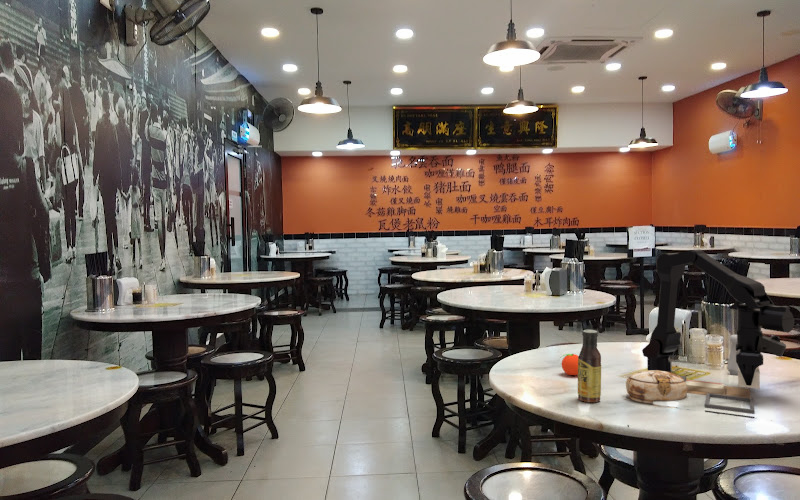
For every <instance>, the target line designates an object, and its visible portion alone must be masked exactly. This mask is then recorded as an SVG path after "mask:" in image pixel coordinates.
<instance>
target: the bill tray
mask: <svg viewBox="0 0 800 500" xmlns="http://www.w3.org/2000/svg"><path fill="white" fill-rule="evenodd" d="M711 398H715V399H723V400H732V401H739V402H748V403H749V407H750V408H746V407H739V406H738V407H736V406H728V405H720V404H713V403H710V399H711ZM704 408H707V409H713V410H720V411H721V410H722V411H730V412H735V413H736V412H737V413H746V414H752V415H753V414H755V402H754V398H753V397H751V398H746V397H737V396H729V395H720V394H712V393H707V394H706V395H705V401H704ZM713 410H706V409H705V410H704V412H705V413H712V414H719V415H725V416H726V415H727V416H734V417H741V418H742V417H743V418H748V419H749V418H750V419H755V416H750V415H741V414H737V413H736V414H735V413H734V414H733V413H728V412H720V411H713Z"/></svg>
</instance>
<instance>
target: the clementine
mask: <svg viewBox="0 0 800 500" xmlns="http://www.w3.org/2000/svg"><path fill="white" fill-rule="evenodd" d="M562 357H563V359H562V361H561V368H562V370H563V372H564V373H565V374H567V376H568V375H569V376H571V375H575V376H578V357H579V355H578V354H576V353H575V354H574V353H567V354H563V355H561V356H560V358H559V359H561V358H562ZM558 361H560V360H558Z"/></svg>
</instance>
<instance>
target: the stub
mask: <svg viewBox="0 0 800 500" xmlns="http://www.w3.org/2000/svg"><path fill="white" fill-rule="evenodd" d="M760 375H761V372H760V366H759V367H757V368H756V369H755V373H754V377H753V380H752V384H751V386H749V385H746V383H745V380H744V378H743V376H742V374H741V371H740V369H739V367H738V376H737V387H739V388H748V389H751V388H752V389H758V390H759V389H760V382H761V378H760V377H761V376H760Z"/></svg>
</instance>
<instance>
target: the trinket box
mask: <svg viewBox="0 0 800 500" xmlns="http://www.w3.org/2000/svg"><path fill="white" fill-rule="evenodd" d="M680 376H681V375H678V374H676V373H673V372H671V373H670V372H666V371H658V370H641V371H637V372H635V373H633V374H632V375H630V376H629V377H628V378H627V379H626V382H625V389H626V392H627V393H626V394H628V398H629V399H631V400H633V401H636V402H640V403H644V404H654V401H676V400H677V401H678V400H682V399H685V398H686V397H687V394H688V393H687V385H686V383H685V381H684V379H683V378H681V377H680Z"/></svg>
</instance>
